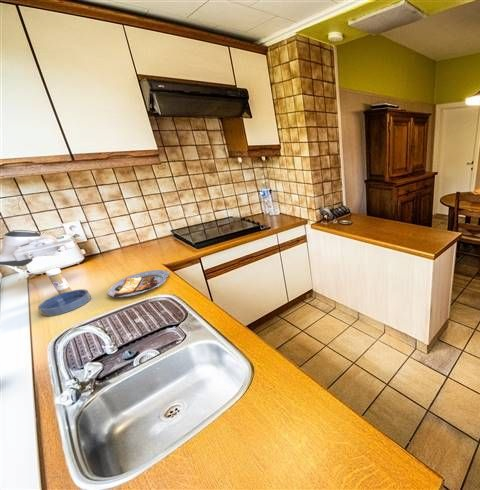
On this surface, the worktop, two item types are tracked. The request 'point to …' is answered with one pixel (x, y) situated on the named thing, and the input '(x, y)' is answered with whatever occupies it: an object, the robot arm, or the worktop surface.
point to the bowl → (64, 302)
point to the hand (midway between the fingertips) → (45, 253)
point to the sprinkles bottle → (58, 280)
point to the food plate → (138, 283)
